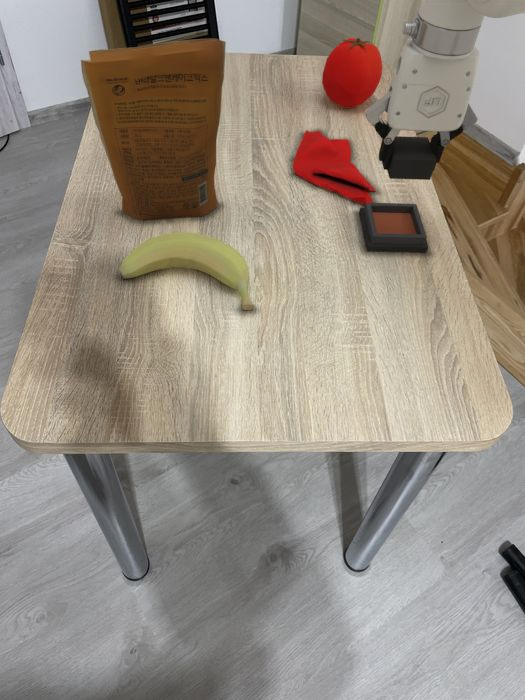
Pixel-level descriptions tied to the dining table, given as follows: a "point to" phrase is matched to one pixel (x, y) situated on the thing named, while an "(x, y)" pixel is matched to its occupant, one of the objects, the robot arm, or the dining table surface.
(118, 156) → the pancake mix bag
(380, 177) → the dining table surface
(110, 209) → the dining table surface
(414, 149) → the black pad
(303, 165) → the cloth
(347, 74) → the tomato
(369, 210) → the base pad
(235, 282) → the banana
